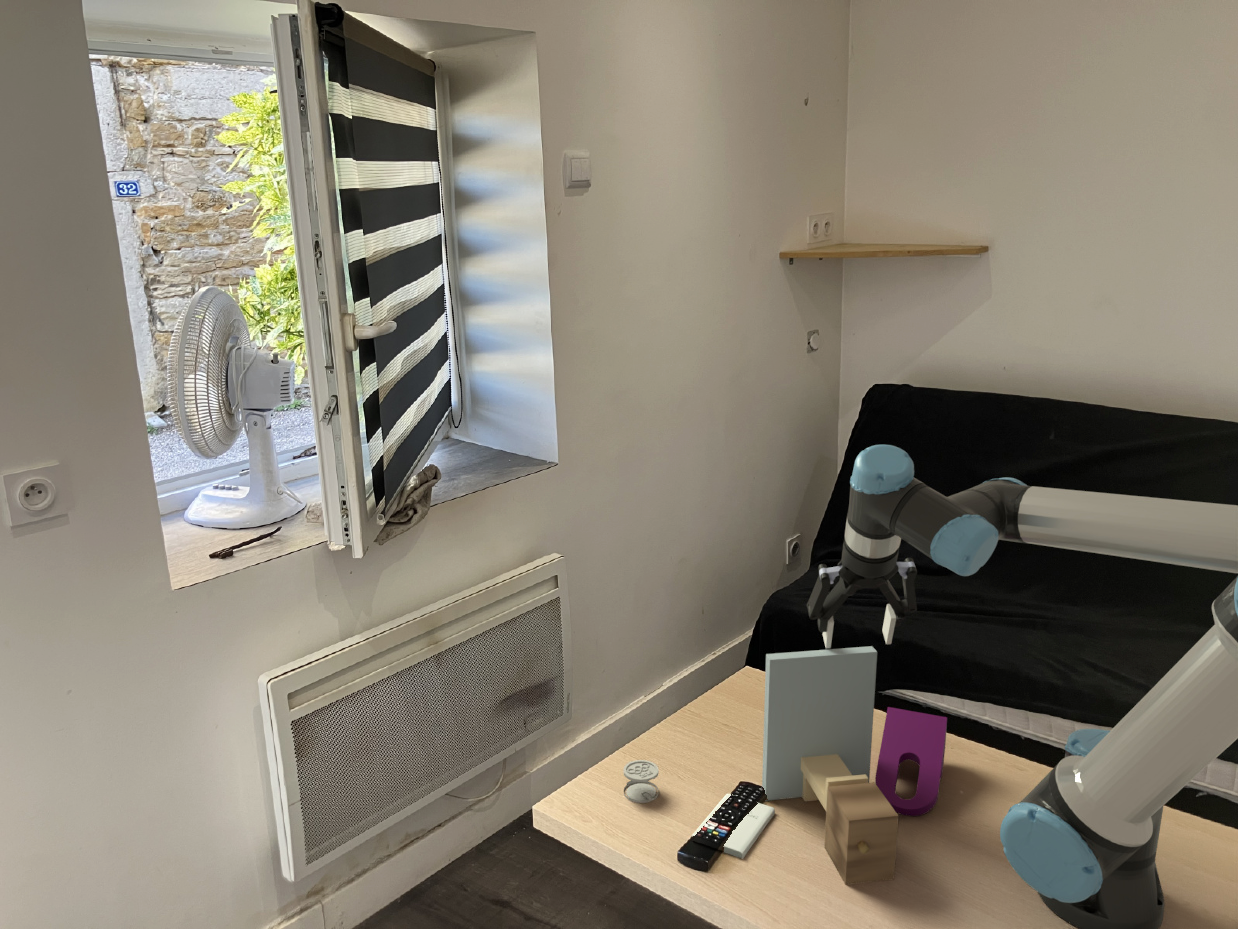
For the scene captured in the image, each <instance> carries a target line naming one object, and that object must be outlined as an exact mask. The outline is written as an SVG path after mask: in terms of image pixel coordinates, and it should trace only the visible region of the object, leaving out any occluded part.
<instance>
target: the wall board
mask: <svg viewBox="0 0 1238 929" xmlns="http://www.w3.org/2000/svg"><path fill="white" fill-rule="evenodd" d="M877 663H878V651H877V650H876V649H875V648H874V646H873V645H871V646H859V647H858V646H856V647H845V648H843V647H842V648H841V647H840V648H827V649H819V650H804V651H803V650H802V651H791V652H790V651H789V652H775V653H766V654H765V679H764V680H765V681H764V706H763V707H764V710H763V713H764V714H763V715H764V717H763V742H762V743H763V744H762V745H763V746H762V747H763V748H762V772H761V774H762V775H761V776H762V780H761V782H762V783H761V788H762V787H763V788H764V790H765V794H766V795H767V799H768V800H767V801H774V800H785V799H786V798H787V799H796V798H802V799H803V801H804V802H811V801H813V802H814V801H819V802H820V804H821V806H822V807H823V809H824V810H825V811H826V808H827V788H828V787H831V786H841V785H852V784H862V783H870V773H871V758H872V746H873V745H872V742H873V727H874V726H873V725H874V712H875V711H874V710H875V709H874V708H875V696H876V695H875V694H876V692H875V691H876V681H877V680H876V678H877Z"/></svg>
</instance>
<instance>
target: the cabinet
mask: <svg viewBox="0 0 1238 929" xmlns="http://www.w3.org/2000/svg"><path fill="white" fill-rule="evenodd" d="M898 828H899V814H898V813H896V812H895V810H894V809H893V807H892V806H891V805H890V803H889V802H888V801H887V799H886V798H885V796H884V795H883V794H882V792H881V791H880V789H879V788H878V787H877V785H876V784H875V781H874V782H869V783H862V784H852V785H841V786H831V787H828V788H827V808H826V810H825V832H824V849H825V851H826V854H827V855H828V857H829V858H830V860H831V862H832V864H833V866H834V868H835V869H836V871H837V873H838V875H839V876H840V878H841V880H842V882H843V883H844V885H855V884H863V883H865V884H866V883H872V882H880V881H881V882H883V881H892V880H894V879H895V870H896V869H895V868H896V858H897V857H896V855H897V844H898V842H897V841H898Z"/></svg>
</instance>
